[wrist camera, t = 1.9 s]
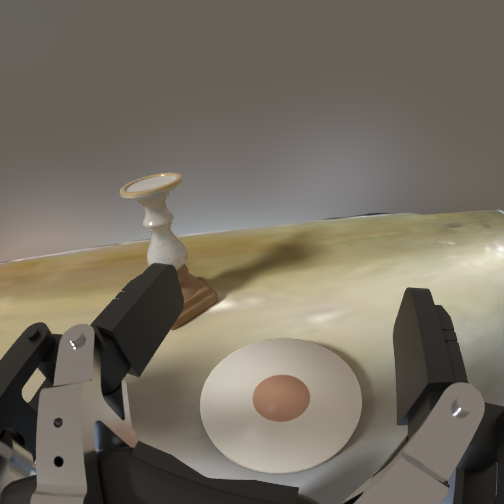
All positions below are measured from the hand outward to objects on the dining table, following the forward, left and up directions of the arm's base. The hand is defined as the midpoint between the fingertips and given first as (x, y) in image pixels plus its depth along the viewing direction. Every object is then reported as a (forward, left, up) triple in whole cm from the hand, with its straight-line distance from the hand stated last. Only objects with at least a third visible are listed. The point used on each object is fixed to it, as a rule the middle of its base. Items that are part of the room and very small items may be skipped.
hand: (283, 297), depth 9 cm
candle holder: (-15, +34, -28) cm, 47 cm away
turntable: (+1, +10, -26) cm, 28 cm away
